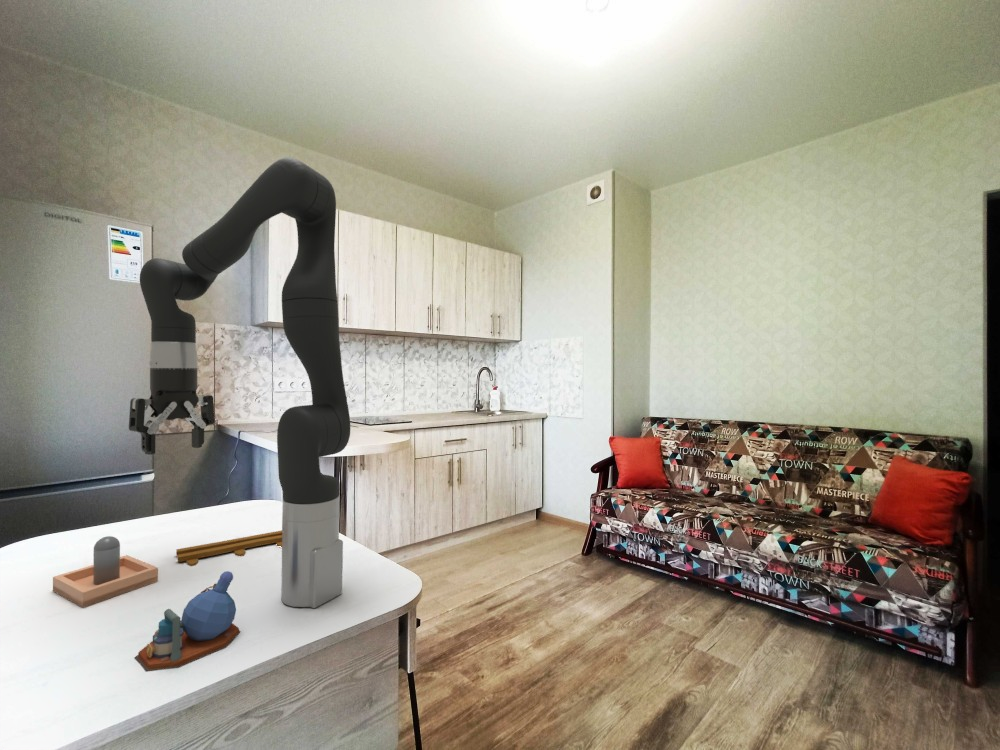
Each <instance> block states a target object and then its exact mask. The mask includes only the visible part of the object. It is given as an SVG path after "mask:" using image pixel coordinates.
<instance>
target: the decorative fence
mask: <svg viewBox="0 0 1000 750" xmlns="http://www.w3.org/2000/svg"><path fill="white" fill-rule="evenodd" d="M275 543H276V544H277V545H276V544H275ZM270 544H275V545H276V547H277V546H281V547H282V530H277V531H271V532H266V533H261V534H255V535H249V536H243V537H237V538H233V539H229V540H228V539H227V540H222V541H217V542H210V543H205V544H200V545H194V546H189V547H188V546H187V547H182V548H177V549H175V550H176V557H177V559H176V560H177V563H181V562H185V561H186V565H188V566H189V567H193V566H196V565H197V564H198V563H199V559H202V558H206V557H211V556H215V555H216V556H217V555H220V554H226V553H231V552H233V554H234V555H235V556H237V557H239V556H240V557H243V556H245V554H246V549H248V548H250V549H251V548H255V547H259V546H265V545H266V546H267V545H270Z"/></svg>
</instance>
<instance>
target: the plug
mask: <svg viewBox="0 0 1000 750" xmlns="http://www.w3.org/2000/svg"><path fill="white" fill-rule="evenodd" d="M120 557H121V542H120V540H119V539H118V538H117V537H115V536H112V535H111V536H110V535H108V536H104V537H102V538H99V539H98V540H97V541H96V543H95V544H94V546H93V563H92V565H93V584H94V585H100V584H103V583H106V582H109V581H112V580H115V579H118V578H120Z"/></svg>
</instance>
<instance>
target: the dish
mask: <svg viewBox="0 0 1000 750" xmlns="http://www.w3.org/2000/svg"><path fill="white" fill-rule="evenodd" d="M157 582H159V567H157V566H154V565H152V564H150V563H149V562H148V563H147V562H145V561H143V560H140V559H138V558H136V557H133V556H130V555H127V554H125V555H123V556H120V578H118V579H115V580H112V581H109V582H106V583H103V584H100V585H94V584H93V564H91V565H88V566H85V567H82V568H78V569H75V570H72V571H67V572H65V573H62V574H57V575H54V576H52V592H53V591H54V593H55V592H56V593H55V594H57V593H58V594H57V595H59V596H61V597H62V596H63V598H65V599H66V600H68V601H69V602H72V603H74V605H75V604H76V605H77V606H79V607H81V608H86V607H90V606H92V605H95V604H98V603H101V602H103V601H106V600H109V599H112V598H114V597H118V596H120V595H123V594H126V593H129V592H131V591H134V590H137V589H140V588H143V587H146V586H148V585H151V584H154V583H157Z"/></svg>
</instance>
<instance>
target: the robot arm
mask: <svg viewBox="0 0 1000 750" xmlns="http://www.w3.org/2000/svg"><path fill="white" fill-rule="evenodd" d="M281 214H283V215H286V216H288V217H290V218H293V219H294V221H295V224H296V229H297V230H296V231H297V243H298V244H297V253H296V258H295V259H294V263H293V264H292V266H291V269H290V270H289V272H288V274H287V276H286V278H285V281H284V283H283V287H282V290H281V311H282V312H281V314H282V326H283V331H284V334H285V337H286V339H287V341H288V343H289V345H290V347H291V348H292V350H293V351H294V354H296V356H297V359H299V361H300V363H301V364H302V366H303V367H304V369H305V371H306V374H307V376H308V379H309V385H310V390H311V391H310V392H311V399H312V400H311V402H312V404H307V405H306V404H304V405H297V406H291V407H289V408H287V409H286V410H285V411H284V412H283V413H282V415H281V416H280V418H279V422H278V425H277V429H276V430H277V431H276V433H277V435H276V439H277V440H276V442H277V443H276V445H277V447H276V448H277V464H278V465H277V466H278V467H277V469H278V470H277V471H278V481H279V484H280V487H281V491H282V519H281V523H282V525H281V529H282V548H281V589H280V590H281V592H280V593H281V595H280V597H281V602H282V603H283V604H285V605H287V606H290V607H293V608H294V607H295V608H306V607H307V608H312V609H316V608H318V607H320V606H321V605H323V604H325V603H327V602H329V601H330V600H333V599H334V598H336V597H338V596H340V595H342V594H343V557H344V556H343V554H344V553H343V552H344V551H343V549H344V541H343V540H342V539H340V538H339V537H340V535H339V533H340V532H339V531H340V493H341V492H340V491H341V490H340V489H341V485H340V480H339V479H338V478H337V477H336V476H333V475H329V474H324V473H322V472H321V467H320V458H322V457H327V456H331V455H335V454H338V453H341V452H342V451H343V450H345V448H346V447H347V445H348V443H349V441H350V437H351V418H350V411H349V404H348V399H347V393H346V387H345V382H344V375H343V365H342V355H341V343H340V320H339V318H340V317H339V303H338V293H337V291H338V290H337V282H336V281H337V279H336V277H337V274H336V258H335V256H336V255H335V253H336V252H335V242H336V241H335V238H336V215H337V198H336V193H335V189H334V187H333V185H332V183H331V182H330V180H329V179H328V178H326V177H325V176H324V175H323V174H321V173H319V172H318V171H316V170H315V169H314V168H312V167H311V166H308V165H307V164H305V163H304V162H302V161H301V160H299V159H297V158H294V157H283V158H279V159H277V160H276V161H274V162H273V163H272V164H271V165H270V166H268V167H267V168H266V169H265V170H264V171H263V172H262V173H261V174H260V175H259V176H258V177H257V179H255V181H254V182H253V183H252V184H251V186H249V187H248V188H247V190H245V192H244V193H243V194H242V195H241V196H240V197H239V198H238V200H237V201H236V202H235V203H234V204H233V205H232V207H230V209H229V210H228V211H226V213H225V214H224V215H223V216H222V217H221V218H220V219H219V220H218V221H217V222H215V223H214V224H212V226H210V227H208V229H206V230H205V231H203V232H202V233H201V234H199V235H198V236H196V237H195V238H193V239H192V240H191V241H189V242H188V243H187V244H185V246H184V247H183V249H182V251H181V252H182V253H181V256H182V260H183V262H184V263H183V262H182V263H181V262H177V261H173V260H169V259H165V258H160V257H159V258H157V257H156V258H151V259H149V260H147V261H146V262H145V263H144V264H143V266H142V267H141V270H140V273H139V285H140V289H141V292H142V296H143V298H144V301H145V305H146V308H147V311H148V314H149V318H150V320H151V321H150V323H151V329H150V331H151V338H150V339H151V345H150V346H151V347H150V353H149V362H148V363H149V389H150V396H149V398H140V397H133V398H131V399H130V401H129V416H128V417H129V419H128V430H129V431H131V432H136V433H138V434H140V435H141V436H140V437H141V441H140V442H141V450H142V452H143V453H144V454H145V455H150V456H151V455H155V454H156V433H155V432H156V431H157V429H158V428H159V426H161V425H162V424H163V423H164V422H165V421H173V420H176V419H179V420H183V419H184V420H186V421H187V422H188V423H189V424H190V425H191V426H192V429H191V447H192V448H195V449H199V448H200V449H201V448H202V446H203V445H204V443H205V429H206V427H208V426H211V425H214V423H215V419H216V418H215V407H214V405H215V404H214V396H213V395H211V394H210V395H209V394H202V395H197V394H198V393H197V389H198V351H197V345H196V343H197V339H196V338H197V336H196V335H197V333H196V332H197V329H196V328H197V325H196V318H195V316H194V315H192V314H191V313H189V312H187V311H184V310H182V309H181V308H180V307H179V304H178V302H177V300H178V301H179V300H180V301H186V302H187V301H194V300H196V299H199V298H201V297H203V295H205V293H207V291H208V290H209V288H211V285H213V283H214V282H215V280H216V278H218V276H219V275H220V274H221V273H223V272H224V271H226V270H228V268H230V267H231V266H233V265H234V264H236V263H237V262H239V260H241V259H242V258H243V257H244V256H245V255H246V253H247V252H248V250H249V248H250V246H251V244H252V241H253V239H254V236H255V233H256V232H257V230H258V229H259V227H261V225H263V224H264V223H265V222H266V221H268V220H270V219H271V218H273V217H275V216H278V215H281ZM197 405H199V407H200V413H199V412H198V411H197V410H196V409H195V408H196V406H197ZM148 407H150V408H151V409H152V411H151V412H150V414H148V416H147V417H146V420H145V416H146V415H145V414H146V411H147V409H148Z"/></svg>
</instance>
